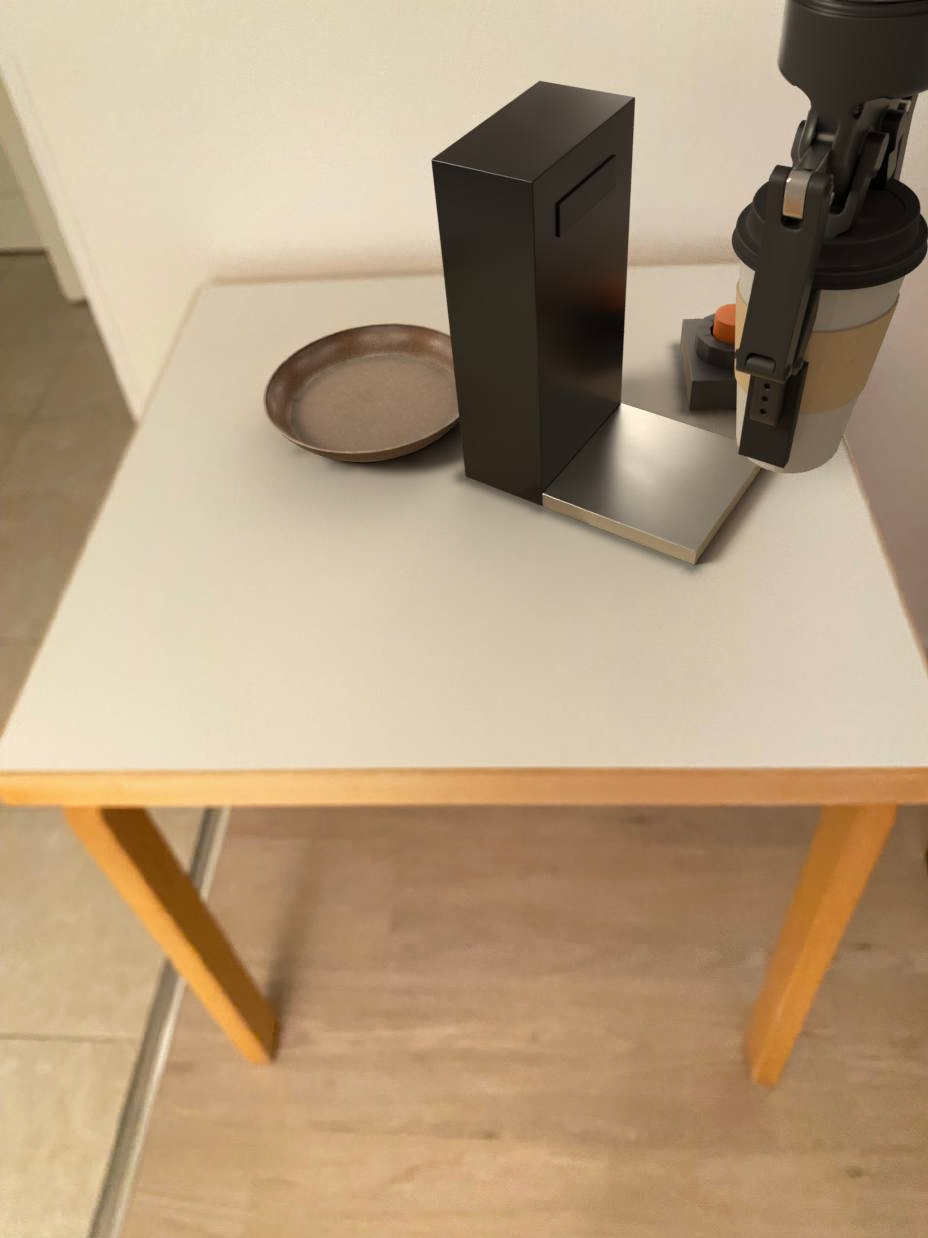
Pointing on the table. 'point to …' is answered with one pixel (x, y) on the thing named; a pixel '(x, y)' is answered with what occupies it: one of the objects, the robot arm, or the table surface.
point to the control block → (707, 366)
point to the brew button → (725, 324)
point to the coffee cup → (838, 311)
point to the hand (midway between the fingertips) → (793, 414)
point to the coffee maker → (564, 327)
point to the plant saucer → (366, 392)
